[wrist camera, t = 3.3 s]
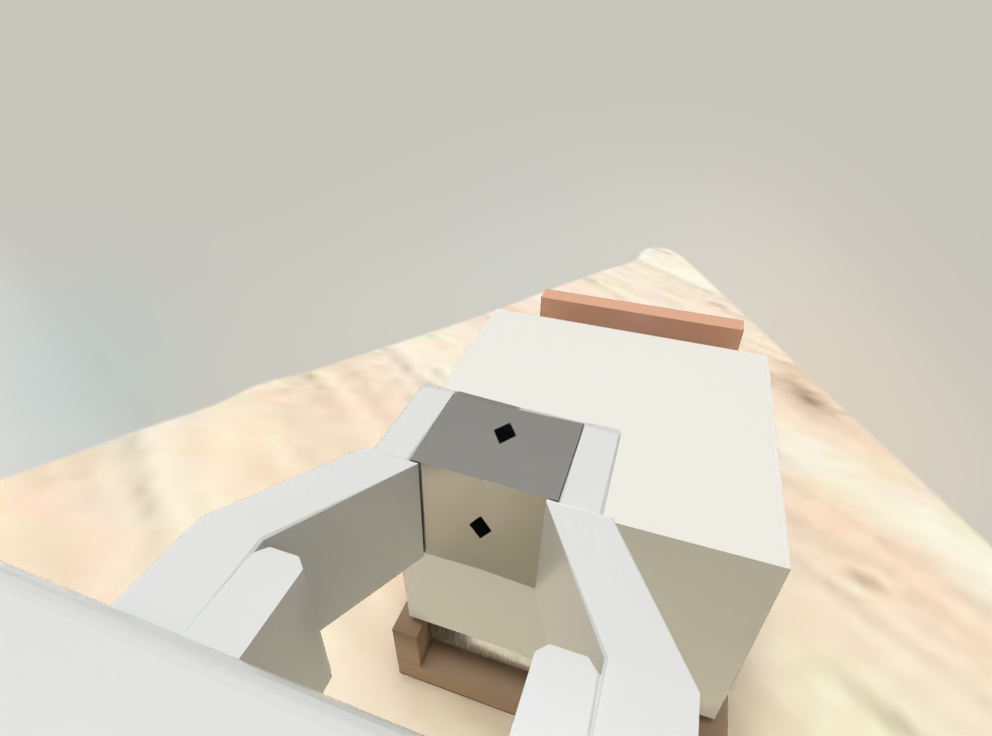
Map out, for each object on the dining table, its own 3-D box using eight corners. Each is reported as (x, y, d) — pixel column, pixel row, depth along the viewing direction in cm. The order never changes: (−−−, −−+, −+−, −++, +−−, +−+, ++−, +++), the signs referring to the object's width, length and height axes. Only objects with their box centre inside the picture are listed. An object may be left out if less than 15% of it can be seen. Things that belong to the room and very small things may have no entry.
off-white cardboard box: (714, 719, 18) (790, 569, 14) (409, 615, 21) (387, 462, 16) (718, 498, 26) (767, 355, 21) (495, 444, 29) (496, 308, 24)
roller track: (705, 785, 20) (760, 688, 16) (400, 672, 23) (381, 567, 19) (715, 412, 37) (743, 320, 33) (540, 376, 40) (546, 288, 36)
